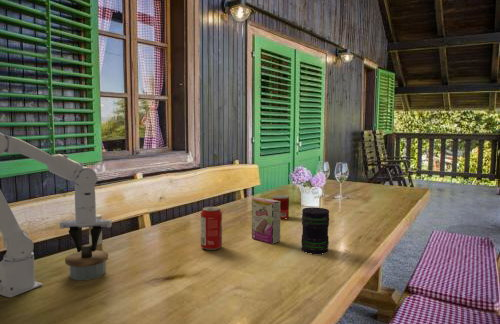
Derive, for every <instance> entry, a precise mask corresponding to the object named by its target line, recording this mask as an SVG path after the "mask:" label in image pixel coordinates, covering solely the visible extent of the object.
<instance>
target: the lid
mask: <svg viewBox="0 0 500 324" xmlns="http://www.w3.org/2000/svg"><path fill="white" fill-rule="evenodd" d="M108 259H109V254H108V252H107V251H104V250H103V251H99V250H95V251H94V252H92V245H90V244H84V245H83V244H82V246H81V251H80V252H77V251H76V252H73V253H72V254H69V255H67V256H66V257H65V259H64V263H65V265H66V266H68V267H69V266H74V267H84V266H92V265H96V264H100V263H102V262H104V261H105V262H107V260H108Z"/></svg>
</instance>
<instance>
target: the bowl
mask: <svg viewBox="0 0 500 324" xmlns="http://www.w3.org/2000/svg"><path fill="white" fill-rule="evenodd" d="M106 265H107V264H106V261H104V262H102V263H100V264H96V265H92V266H84V267H74V266H69V265H68V276H69V278H70V279H71V280H75V281H88V280H93V279H97V278H99V277H102V276H104V275H105V274H106V273H107V271H106V268H107V267H106Z"/></svg>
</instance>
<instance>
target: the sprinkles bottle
mask: <svg viewBox="0 0 500 324" xmlns="http://www.w3.org/2000/svg"><path fill="white" fill-rule="evenodd" d="M96 219H103V215H102V214H101V213H100V214H99V213H96ZM92 228H93V227H88V238H89V239H88V243H89V244H88V245H92V237H91V231H90V230H91V229H92ZM96 250H99V251H104V250H103V230H102V231H101V233H100V236H99V238H98V242H97V247H96Z"/></svg>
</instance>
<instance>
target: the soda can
mask: <svg viewBox="0 0 500 324" xmlns="http://www.w3.org/2000/svg"><path fill="white" fill-rule="evenodd" d="M222 245H223V212H222V211H221V207H218V206H205V207H202V210H201V212H200V247H201V248H202V249H204V250H205V249H206V251H217V250H219V249H221V247H222ZM216 249H217V250H216Z"/></svg>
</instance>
